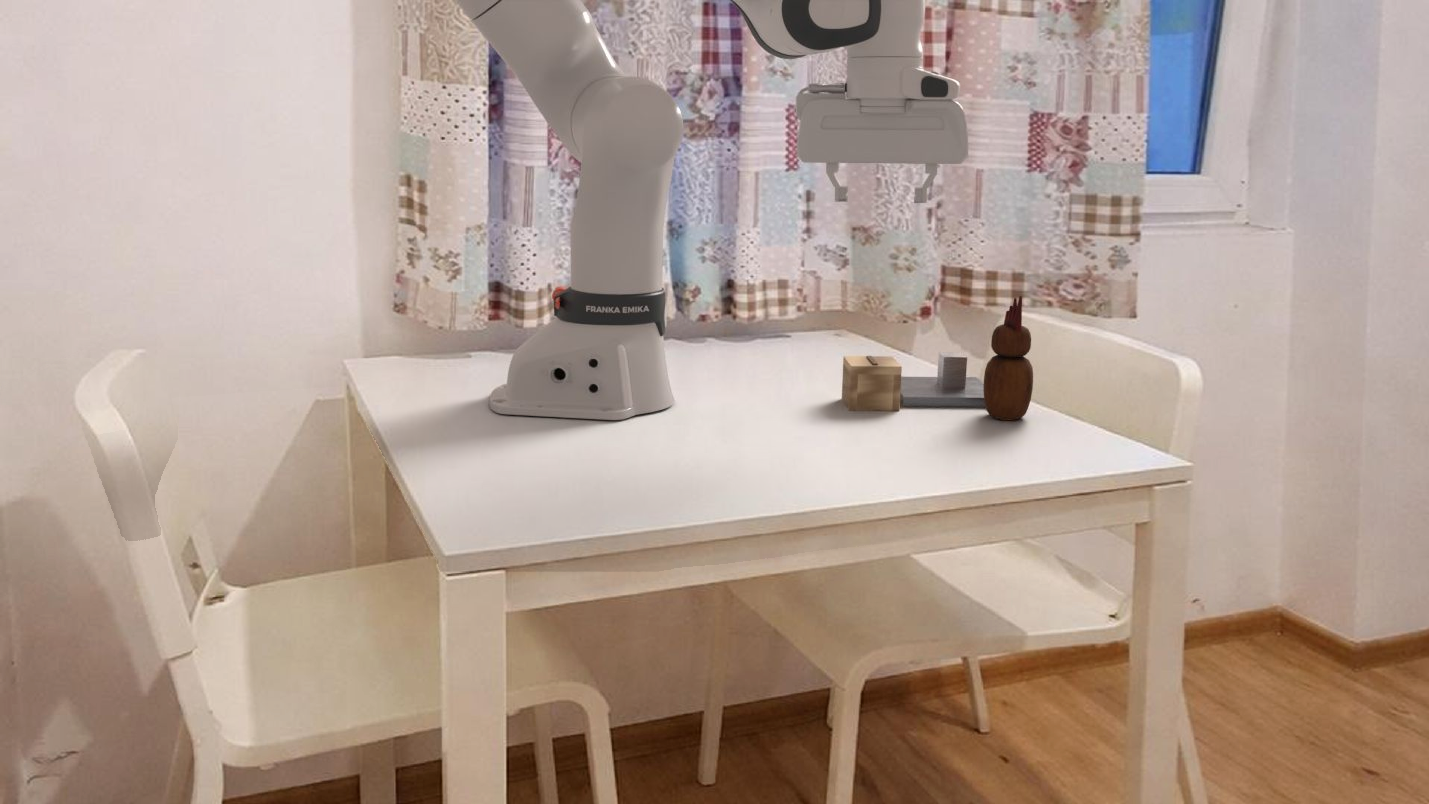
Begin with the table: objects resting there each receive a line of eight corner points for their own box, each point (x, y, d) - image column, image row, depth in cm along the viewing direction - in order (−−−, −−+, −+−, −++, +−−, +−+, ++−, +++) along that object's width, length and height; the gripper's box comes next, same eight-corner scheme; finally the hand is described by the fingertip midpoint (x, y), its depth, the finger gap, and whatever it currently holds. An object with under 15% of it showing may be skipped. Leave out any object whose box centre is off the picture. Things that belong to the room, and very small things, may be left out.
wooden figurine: (1031, 425, 155) (1040, 299, 152) (981, 422, 156) (989, 296, 153) (1029, 412, 162) (1038, 290, 158) (981, 409, 163) (989, 288, 159)
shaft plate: (903, 406, 163) (905, 365, 162) (886, 385, 175) (888, 346, 174) (998, 407, 164) (1001, 366, 163) (975, 386, 176) (977, 347, 174)
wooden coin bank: (849, 410, 161) (851, 364, 160) (841, 398, 167) (843, 354, 166) (899, 410, 161) (901, 364, 160) (890, 399, 167) (892, 354, 166)
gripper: (793, 83, 153) (791, 203, 157) (971, 83, 150) (966, 205, 153) (798, 83, 159) (797, 198, 163) (970, 83, 156) (965, 201, 159)
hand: (880, 202), depth 158 cm, fingers open, 8 cm apart
